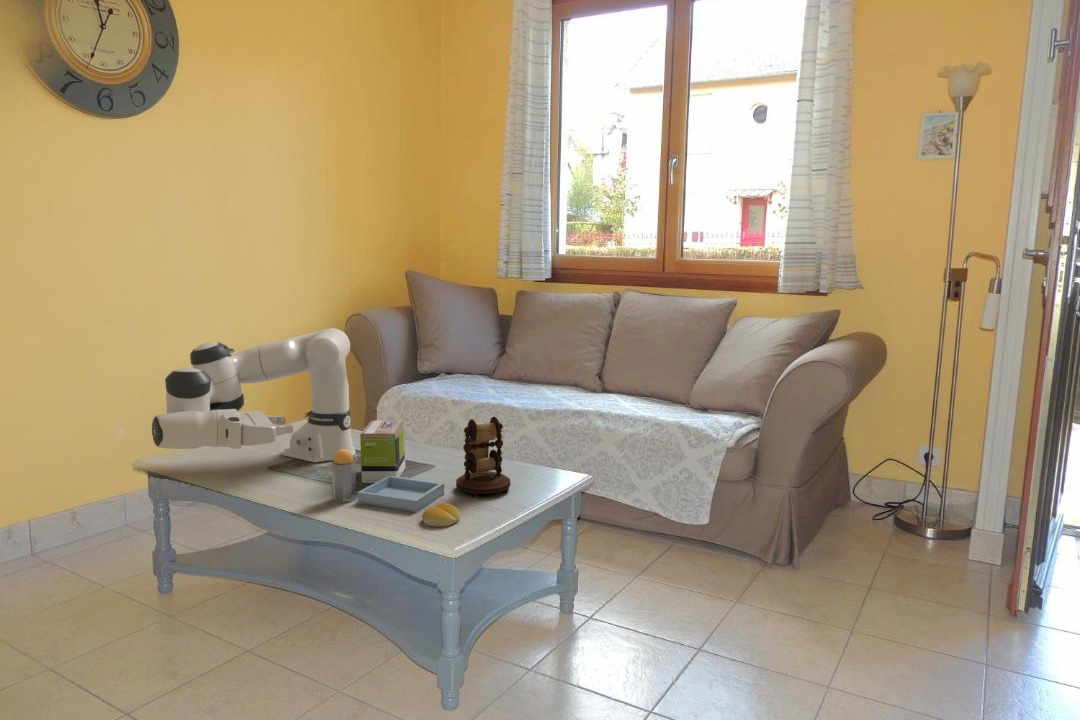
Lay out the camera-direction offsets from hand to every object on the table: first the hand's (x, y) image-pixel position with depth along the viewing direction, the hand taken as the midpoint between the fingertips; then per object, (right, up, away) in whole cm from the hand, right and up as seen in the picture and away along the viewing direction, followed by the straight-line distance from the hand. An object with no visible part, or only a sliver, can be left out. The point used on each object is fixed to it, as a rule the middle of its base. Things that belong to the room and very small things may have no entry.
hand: (288, 424), depth 189 cm
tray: (+26, -20, +11) cm, 35 cm away
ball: (+12, -9, +8) cm, 17 cm away
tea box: (+18, -17, +30) cm, 39 cm away
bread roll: (+38, -23, -4) cm, 45 cm away
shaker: (+11, -20, +10) cm, 25 cm away
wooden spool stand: (+47, -20, +19) cm, 54 cm away
